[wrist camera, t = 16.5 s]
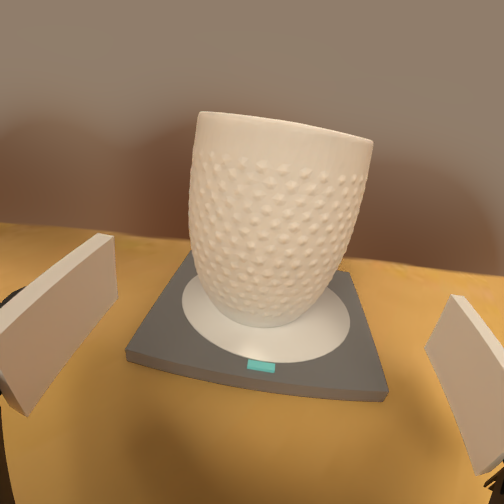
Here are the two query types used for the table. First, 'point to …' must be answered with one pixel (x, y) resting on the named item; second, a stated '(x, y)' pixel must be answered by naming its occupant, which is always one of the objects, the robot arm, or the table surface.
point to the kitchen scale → (263, 344)
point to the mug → (271, 212)
